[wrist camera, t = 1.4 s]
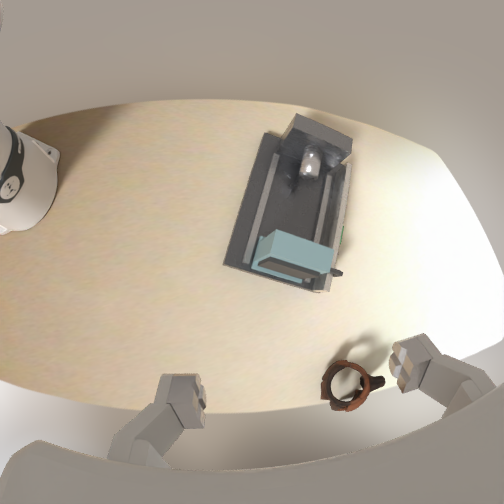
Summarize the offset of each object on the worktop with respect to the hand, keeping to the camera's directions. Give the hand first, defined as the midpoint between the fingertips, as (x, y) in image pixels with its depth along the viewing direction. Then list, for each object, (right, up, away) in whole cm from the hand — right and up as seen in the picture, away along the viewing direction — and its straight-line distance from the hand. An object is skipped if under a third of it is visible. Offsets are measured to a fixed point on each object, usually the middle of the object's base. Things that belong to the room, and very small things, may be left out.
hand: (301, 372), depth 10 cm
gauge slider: (+4, +3, +32) cm, 33 cm away
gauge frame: (+4, +12, +36) cm, 38 cm away
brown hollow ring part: (+14, -19, +34) cm, 41 cm away
